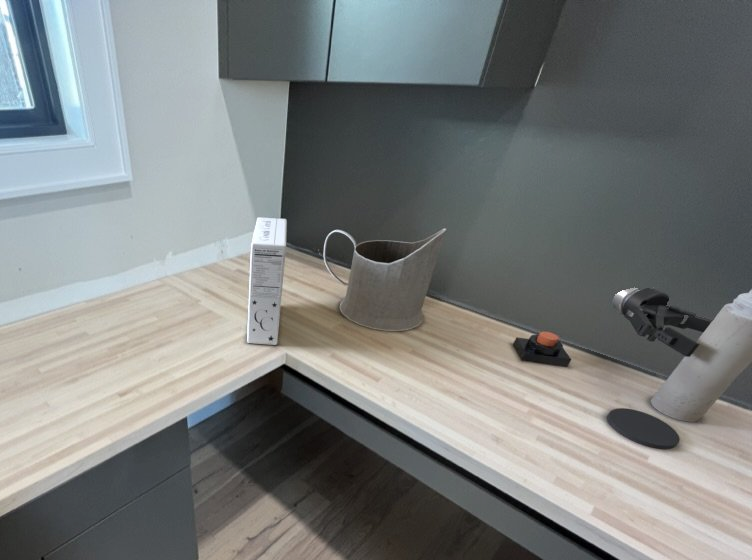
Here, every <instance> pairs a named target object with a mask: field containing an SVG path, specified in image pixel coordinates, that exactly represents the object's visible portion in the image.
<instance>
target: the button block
mask: <svg viewBox="0 0 752 560" xmlns="http://www.w3.org/2000/svg"><path fill="white" fill-rule="evenodd" d="M538 336H539V333H538V334H531V335H530V337H528V338H525V337H515V339H514V341H513V344H512V346H513V348H514V350H515V351H516V353H517V355H518V356H519V359H520V361H522V362H528V363H536V364H541V365H550V366H555V367H564V368H568V366H569V365H570V363H571V362H572V358H571V357H570V355H569V354H568V352H567V351H566V350H565V348H564V345H563V343H562V342H561V341H560V340H558V341H557V343H556V345H555V346H553V347H552V346H545V345H542V344H540V343H538V342H537V341H536V340H537V338H538Z"/></svg>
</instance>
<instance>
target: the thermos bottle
mask: <svg viewBox="0 0 752 560" xmlns="http://www.w3.org/2000/svg"><path fill="white" fill-rule="evenodd" d="M732 301H733V302H731V303H726V304H724V306H723V307H722V308H721V309H720V311H718V313H717V314H716V316H714V317H715V318H714V320H713V321H712V322H711V323H710V325H709V326H708V327H707V329H706V330H705V331H704V332H702V334H701V335H700V336H699V338H697V340H696V341H695V342H696V343H698V344H699V346H698V347H697V348H696V349H695V351H694V352H693V353H692V355H691V356H690V357H686V356H683V358H682V359H681V360H680V362H679V363H678V365H677V366H676V367H675V368H674V369H673V371H672V372H671V373H670V375H669V376H668V377H667V379H665V381H664V382H663V384H662V385H661V386H660V388H659V389H658V391H656V392H655V394H654V395H653V397H652V398H651V399H650V404H651V406H652V407H653V408H654V409H655V410H657V411H658V412H660V413H661V414H663V415H665V416H667V417H670V418H672V419H675V420H679V421H681V422H682V421H683V422H687V423H689V422H690V423H695V422H699V420H700V419H702V417H703V416H704V415H705V414H706V413H707V412H708V411H709V409H711V407H712V406H713V405H714V404H715V403H716V402H717V401H718V399H720V397H721V396H722V395H723V394H724V393H725V392H726V391H727V389H728V388H729V387H730V386H731V385H732V384H733V382H734V381H735V380H736V378H737V377H738V376H739V375H740V374H741V373H742V372H743V371H744V370H745V369H746V368H747V367H748V366H749V365H750V364H751V363H752V288H751V289H750V290H749V291H748V292H745V293H740V294H738V296H737V297H736V298H734V299H733V300H732Z"/></svg>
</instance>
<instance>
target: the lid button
mask: <svg viewBox="0 0 752 560" xmlns="http://www.w3.org/2000/svg"><path fill="white" fill-rule="evenodd" d="M538 335H539V336H538V338H537V340H536V341H537V342H538V343H540V344H542V345H545V346H552V347H553V346H555V345H556V343H557V341H559V339H560V337H559V335H558V334H555V333H553V332H550V331H541V332H539V333H538Z"/></svg>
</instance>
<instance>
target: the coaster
mask: <svg viewBox="0 0 752 560" xmlns="http://www.w3.org/2000/svg"><path fill="white" fill-rule="evenodd" d="M606 419H607V422H608V424H609V425H610V426H611V428H613V430H615V431H616V432H617V433H619V435H622V436H623V437H625V438H626V439H629V440H630V441H633V442H635V443H637V444H640V445H642V446H645V447H648V448H653V449H661V450H668V449H672V448H674V447H676V446H677V445H678V444H679V443H680V440H681V439H680V435H679V434H678V432H677V431H676V430H675V429H674V428H673V427H672V426H671V425H670V424H668V423H666V422H665V421H664V420H663V419H660V418H658V417H656V416H653V415H651V414H649V413H646V412H644V411H641V410H636V409H632V408H625V407H624V408H623V407H619V408H613V409H612V410H610V411H609V412H608V414H607V415H606Z"/></svg>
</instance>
